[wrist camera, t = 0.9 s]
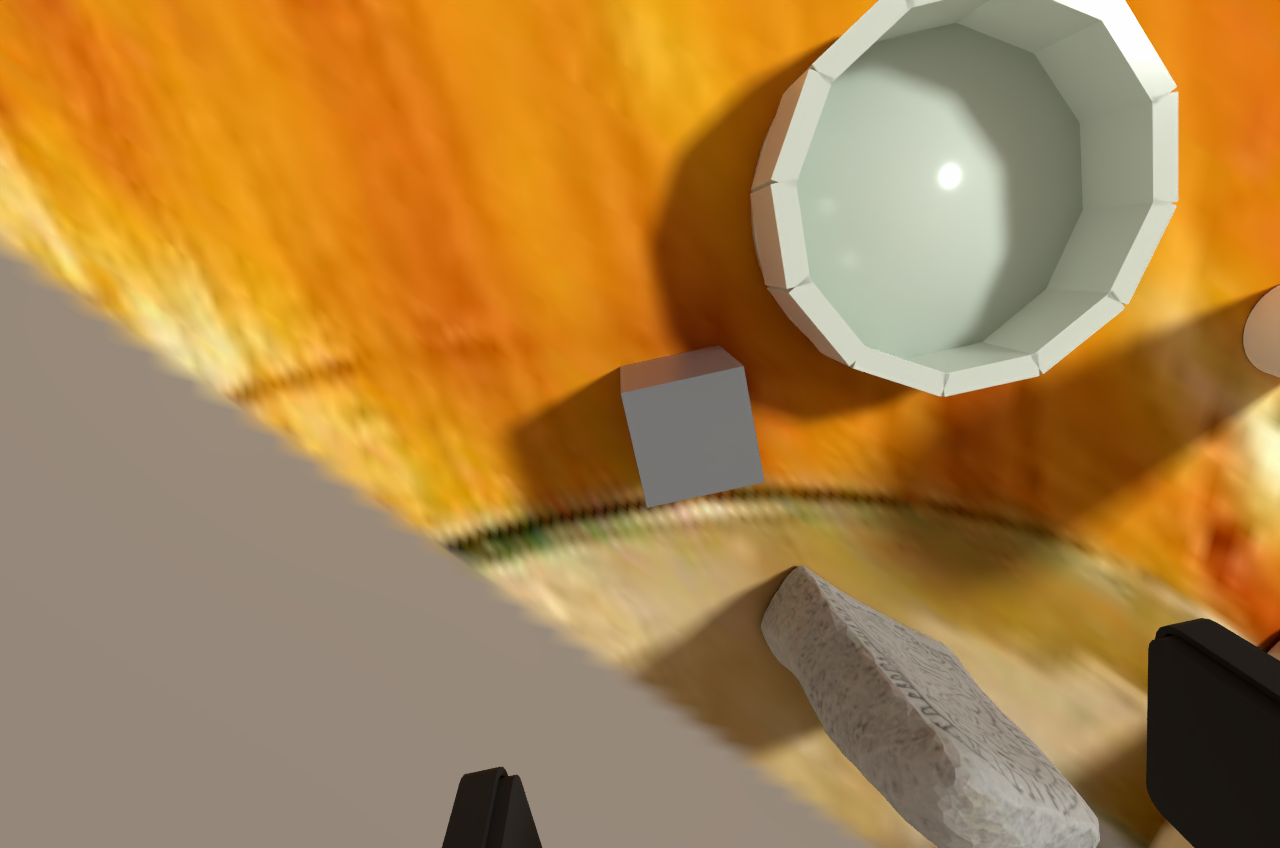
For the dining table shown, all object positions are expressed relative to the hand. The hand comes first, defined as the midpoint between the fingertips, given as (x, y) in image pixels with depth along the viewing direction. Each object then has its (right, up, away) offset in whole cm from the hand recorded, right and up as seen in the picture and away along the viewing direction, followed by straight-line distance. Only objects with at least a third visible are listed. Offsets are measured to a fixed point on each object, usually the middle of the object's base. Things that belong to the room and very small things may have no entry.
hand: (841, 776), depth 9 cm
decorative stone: (+9, -6, +27) cm, 29 cm away
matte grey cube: (-1, +6, +23) cm, 24 cm away
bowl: (+10, +16, +21) cm, 28 cm away
